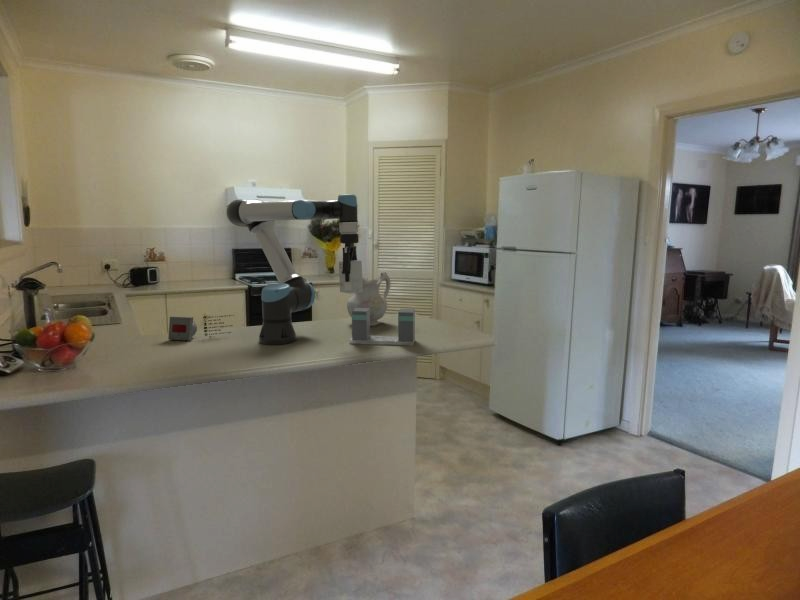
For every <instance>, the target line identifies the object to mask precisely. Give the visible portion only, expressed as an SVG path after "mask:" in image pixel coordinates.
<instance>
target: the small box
mask: <svg viewBox="0 0 800 600" xmlns="http://www.w3.org/2000/svg"><path fill="white" fill-rule="evenodd" d="M362 263H363V261H362V260H359V259H357V260H351V270H350V274H351V283H352V290H345V284H344V274H342V270H343V260H338V271H339V272H338V274H339V276H338V277H339V292H340V293H344V294H351V295H352V294H355V293H360V292H363V282H362V278H363V264H362Z"/></svg>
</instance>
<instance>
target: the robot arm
mask: <svg viewBox="0 0 800 600" xmlns="http://www.w3.org/2000/svg"><path fill="white" fill-rule="evenodd" d="M357 198H358V197H357V195H356V194H354V193H352V194H349V193H348V194H347V193H346V194H339V195H338V196H337V199H335V200H330V199H329V200H322V199H321V200H319V199H307V198H305V199H302V198H301V199H297V200H279V201H278V200H277V201H266V200H262V199H241V198H240V199H239V198H238V199H236V200H232V201H231V202H230V203H229V205H227V209H226V217H227V220H229V222H230V223H231V224H232V225H234V226H236V227H241V228H242V227H243V228H244V227H245V228H248V231H249V232H250V234H251V235H253V236H255V237H256V239H257V242H258V243H259V245H260V247H261V249H262V252H263V253H264V255H265V257H266V259H267V261H268V264H269V265H270V267H271V269H272V271H273V273H274V275H275V277H276V280H277V281H278V283H273V284H268V285H265V286H264V287H263V288H262V290H261V297H260V300H261V311H262V312H261V313H262V324H261V328H260V332H259V335H258V338H259V339H258V342H259V343H260V344H262V345H269V346H271V345H275V346H276V345H277V346H279V345H287V344H292V343H294V342H296V340H297V334H296V331H295V328H294V325H293V323H292V313H296V312H298V311H299V312H301V311H305V310H306V309H309V308H311V307H312V306H313V304H314V303H315V300H316V292H315V291H316V290H315V288H314V286H313V285H312V284H311V283H309V282H307V281H306V282H305V280H304V278H303V276H302V275H301V274H300V275H299V274H298V273H297V272H296V270H295V268H294V265H293V263H292V262H291V260H290V258H289V256H288V253H287V252H286V250H285V248H284V246H283V244H282V243H283V242H282V241H281V240H280V237H279V235H278V234H277V231H276V229H275V225H276V221H296V220H299V221H307V220H338V228H339V230H338V231H339V233H340V235H339V243H340V244H344V247H342V261H343V270H342V274H344V284H345V290H352V283H351V274H350V270H351V260H358V255H357V245H355V244H358V243H359V242H360V241H359V238H360V237H359V234H358V233H359V228H360V225H359V224H358V218H359V217H358V207H359V206H358V201H357V200H358V199H357Z"/></svg>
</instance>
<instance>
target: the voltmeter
mask: <svg viewBox="0 0 800 600" xmlns="http://www.w3.org/2000/svg"><path fill="white" fill-rule="evenodd" d="M224 317H234V314H229V315H219V318H224ZM212 318H217V315H215V316H209V319H208V322H210V323H208V325H218V324H219V325H220V324H221V325H220V326H209V327H208V326H207V320H206V319H207V316H205V315H204V316H203V319H204V320H203V321H204V327H203V332H204V336H205V337H207V336H208V335H209V338H210V339H211V338H212V336H211V335H213V333H207V332H215V333H214V335H218V334H219V335H220V334H222V335H223V334H230V333H232V331H227V332H226V331H225V332H221V331H222V329H217V328H226V327H233V324H231V325H224V324H225V322H224V321H223V322H221V321H220V319H212ZM212 321H214V323H213V322H212ZM215 321H220V322H215ZM222 324H223V325H222ZM215 328H216V329H215ZM210 329H211V330H210ZM213 329H214V330H213ZM197 330H198V328H197V324H196V322H195V321H194V317H193V316H169V325H168V337H167V339H168V340H172V341H186V340H189V342H190V341H191V340H193V337H194V336H195V335H196V333H197ZM217 331H219V332H218V333H217ZM215 337H217V336H214V338H215Z"/></svg>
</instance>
